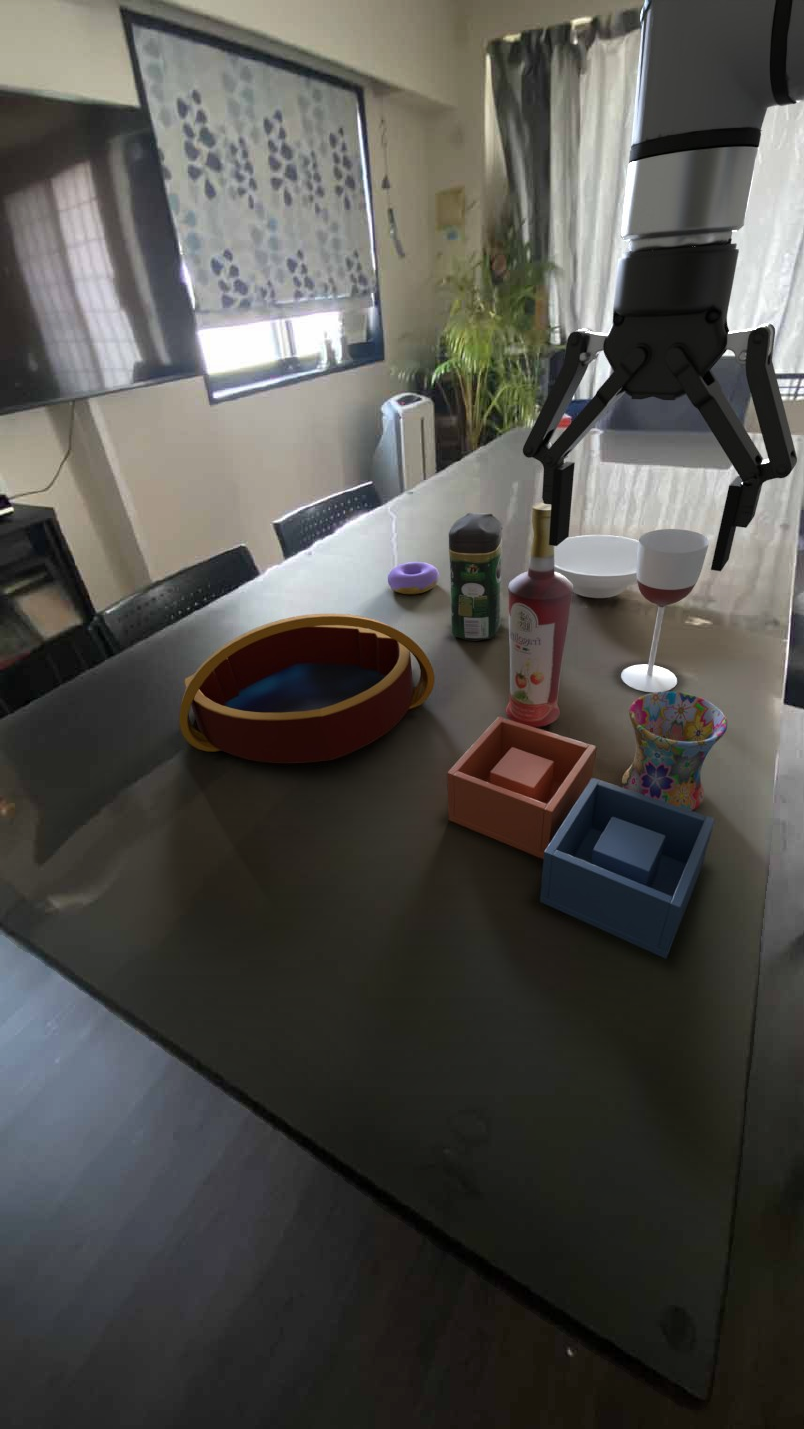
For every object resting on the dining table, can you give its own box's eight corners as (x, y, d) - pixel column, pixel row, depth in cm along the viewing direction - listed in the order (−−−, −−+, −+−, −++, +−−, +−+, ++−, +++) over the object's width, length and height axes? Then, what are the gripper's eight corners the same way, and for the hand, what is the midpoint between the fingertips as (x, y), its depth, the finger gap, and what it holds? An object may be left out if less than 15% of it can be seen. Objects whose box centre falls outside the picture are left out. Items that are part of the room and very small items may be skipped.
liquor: (571, 716, 84) (593, 502, 68) (539, 742, 80) (554, 521, 64) (525, 697, 89) (536, 492, 73) (493, 721, 85) (496, 509, 69)
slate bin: (700, 869, 62) (715, 818, 58) (666, 959, 55) (680, 907, 51) (585, 826, 68) (592, 777, 64) (539, 901, 60) (544, 851, 56)
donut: (420, 570, 128) (421, 548, 124) (447, 593, 122) (450, 571, 119) (377, 583, 124) (378, 561, 120) (403, 608, 118) (405, 586, 115)
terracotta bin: (590, 794, 72) (596, 746, 68) (547, 861, 64) (552, 812, 60) (497, 762, 78) (498, 716, 74) (448, 820, 70) (446, 772, 66)
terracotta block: (551, 796, 71) (554, 761, 68) (531, 823, 68) (533, 788, 65) (510, 781, 73) (511, 746, 71) (489, 806, 70) (490, 771, 67)
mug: (708, 829, 66) (732, 749, 60) (615, 815, 69) (628, 736, 63) (701, 758, 76) (721, 682, 69) (619, 748, 78) (631, 674, 72)
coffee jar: (458, 614, 111) (455, 507, 100) (503, 617, 109) (506, 508, 98) (446, 641, 103) (442, 528, 93) (495, 644, 101) (497, 530, 91)
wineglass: (689, 674, 91) (720, 536, 79) (661, 700, 86) (690, 558, 74) (637, 657, 95) (658, 524, 84) (607, 681, 90) (626, 544, 79)
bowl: (522, 580, 121) (523, 545, 117) (612, 562, 125) (617, 528, 121) (576, 623, 106) (580, 584, 102) (677, 600, 110) (684, 562, 106)
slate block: (657, 872, 61) (666, 835, 58) (640, 909, 58) (649, 871, 55) (606, 852, 64) (612, 816, 61) (587, 886, 60) (592, 849, 58)
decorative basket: (413, 664, 103) (402, 571, 96) (465, 748, 77) (455, 629, 70) (199, 703, 98) (172, 609, 92) (178, 806, 72) (138, 686, 66)
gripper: (910, 223, 39) (807, 559, 51) (529, 256, 51) (519, 520, 63) (904, 222, 34) (792, 595, 46) (484, 259, 46) (483, 545, 58)
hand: (634, 552), depth 54 cm, fingers open, 13 cm apart
